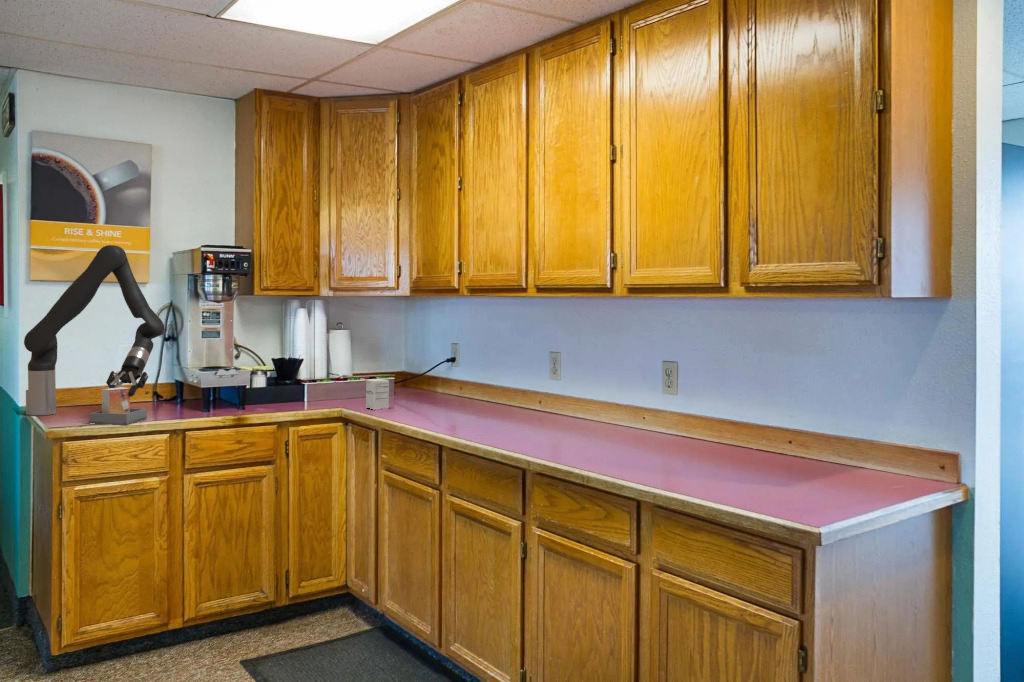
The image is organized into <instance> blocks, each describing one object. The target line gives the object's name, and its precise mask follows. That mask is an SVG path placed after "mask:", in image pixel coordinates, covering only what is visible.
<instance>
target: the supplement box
mask: <svg viewBox="0 0 1024 682" xmlns="http://www.w3.org/2000/svg"><path fill="white" fill-rule="evenodd" d="M365 381H366V382H365V386H366V387H365V390H366V391H365V409H366V408H370V409H380V408H389V409H390V380H388V379H383V378H371V379H369V378H368V379H366V380H365ZM370 409H369V410H370Z"/></svg>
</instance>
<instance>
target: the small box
mask: <svg viewBox="0 0 1024 682" xmlns="http://www.w3.org/2000/svg"><path fill="white" fill-rule="evenodd" d="M130 388H131V387H130ZM130 388H129V387H124V386H120V387H119V386H118V387H116V388H109V387H108V388H101V410H102V413H113V414H126V413H130V408H131V397H130V396H129V395H128V392H129V390H130Z"/></svg>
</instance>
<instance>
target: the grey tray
mask: <svg viewBox="0 0 1024 682" xmlns="http://www.w3.org/2000/svg"><path fill="white" fill-rule="evenodd" d="M147 414H148V413H147V408H131V407H130V413H126V414H113V413H102V409H100V410H97V411H93V412H88V424H89V423H95V424H94V425H98V424H112V425H111V426H129V425H131V424H132V423H133V424H135V423H134V422H136V423H138V422H137V421H139V422H142V421H141V420H143V421H146V420H147ZM145 419H146V420H145Z"/></svg>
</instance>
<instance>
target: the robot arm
mask: <svg viewBox="0 0 1024 682" xmlns="http://www.w3.org/2000/svg"><path fill="white" fill-rule="evenodd" d="M111 273H112V274H113V275H114V276H115V278H116V281H117V282H118V285H119V287H120V290H121V293H122V296H123V299H124V301H125V304H126V306H127V307H128V309H129V311H130V313H131V315H132V316H133V317H134V318H135V319H142V320H143V321H144V322H142V323H141V324H140V325H138V327H137V329H136V331H135V337H134V342H133V344H132V346H131V348H130V350H129V351H128V352H127V354H126V357H125V359H124V360H123V362H122V365H121V368H120V370H119V372H115V371H114V370H112V371H110V372H109V375H108V377H107V380H106V382H105V383H106V386H107V387H108V388H119V386H120V387H121V386H122V385H124V384H129V385H131V384H132V385H131V386H130V390H129V392H128V395H129V396H130V398H132V397H133V396H134V395H135V394H136V391H137V390H139V389H143V388H144V387H145V384H146V383H147V381H148V379H149V376H148V373H147V372H146V371H144V369H145V368H146V366H147V363H148V361H149V359H150V358H149V357H150V356H151V353H152V350H153V348H154V342H153V339H155V338H157V337H160V336H162V335H163V334H164V333H165V325H164V322H163V320H162V319H161V318H160V317H159V316H158V315H157V314H156V312H155V311H154V310H153V309H152V308H151V307H150V305H149V303H148V301H147V299H146V298H145V295H144V294H143V292H142V290H141V288H140V287H139V284H138V282H137V280H136V278H135V276H134V274H133V271H132V268H131V266H130V262H129V259H128V256H127V253H126V252H125V250H124V249H123V248H122V247H121V246H119V245H114V244H108V245H105V246H102V247H101V248H99V250H98V252H97V253H96V254H95V256H94V257H93V259H92V260H91V262H90V263H89V265H88V266H87V267H86V268H85V270H83V272H82V273H81V274H80V275H79V276H78V277H76V279H75V280H74V281H73V282H72V283H71V284H70V285H69V286H68V287H67V288H66V290H65V291H64V292H63V293H62V294H61V295H60V297H59V298H58V299H57V301H56V302H55V303H54V304H53V305H52V307H50V309H49V310H48V312H47V314H45V316H44V317H42V319H41V320H40V321H39V322H38V323H36V325H34V326H33V327H32V329H30V330H28V332H27V333H26V335H25V336H24V339H23V344H24V347H25V350H27V351H28V352H31V357H30V360H29V362H28V363H27V389H25V414H26V415H29V416H48V415H55V414H57V393H56V384H57V383H56V365H57V361H58V339H57V334H58V333H59V332H60V330H61V329H62V328H63V327H65V326H66V325H67V324H69V323H70V322H71V321H72V320H74V319H75V318H76V317H77V316H79V315H80V314H81V313H83V311H84V310H85V309H86V307H87V306H88V305H89V304H90V302H91V301H92V300H93V298H94V297H95V295H96V294H97V292H98V289H99V288H100V286H101V284H102V283H103V282H104V280H105V279H106V278H107V277H108V276H109V275H110V274H111ZM91 303H92V302H91ZM137 380H138V381H137Z"/></svg>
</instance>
